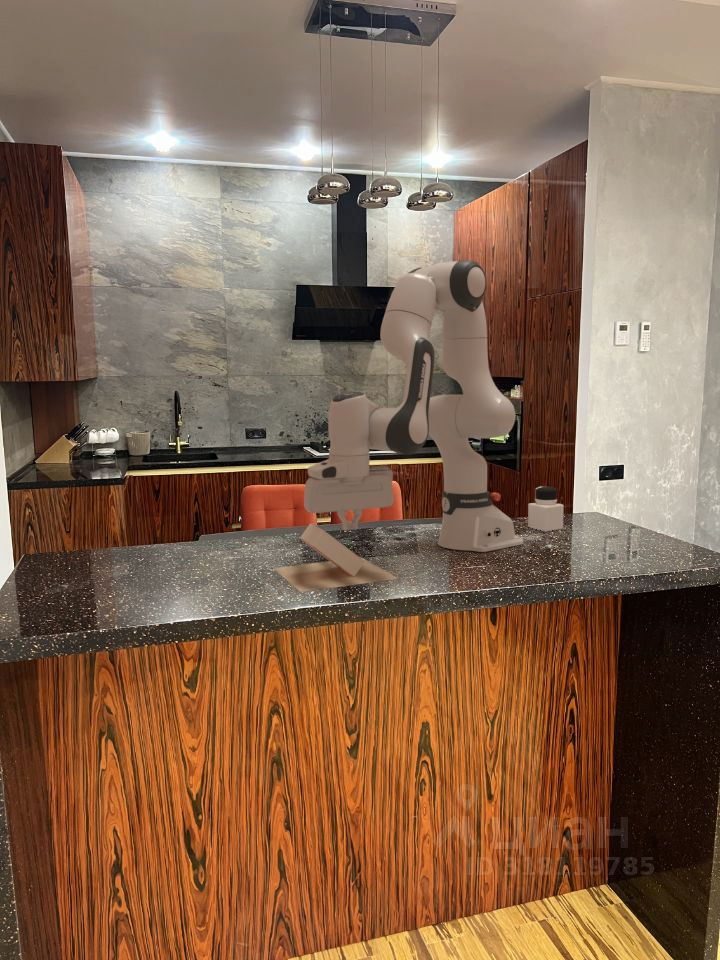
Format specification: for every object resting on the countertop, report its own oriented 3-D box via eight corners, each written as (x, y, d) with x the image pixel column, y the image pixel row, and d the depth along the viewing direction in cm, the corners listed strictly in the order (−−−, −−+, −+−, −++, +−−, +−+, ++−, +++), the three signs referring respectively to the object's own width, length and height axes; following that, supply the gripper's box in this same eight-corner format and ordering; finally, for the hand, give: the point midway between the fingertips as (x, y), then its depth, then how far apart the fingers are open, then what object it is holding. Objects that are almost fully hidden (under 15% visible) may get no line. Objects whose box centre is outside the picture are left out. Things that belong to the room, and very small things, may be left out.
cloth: (362, 561, 169) (362, 557, 168) (398, 583, 150) (398, 578, 150) (273, 572, 160) (273, 568, 160) (300, 596, 142) (300, 591, 142)
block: (349, 552, 161) (310, 523, 156) (364, 561, 153) (324, 530, 148) (338, 567, 160) (299, 538, 156) (353, 577, 152) (312, 547, 147)
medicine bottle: (563, 529, 201) (564, 487, 199) (545, 532, 198) (546, 489, 196) (545, 524, 207) (546, 484, 205) (527, 527, 204) (528, 486, 202)
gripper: (386, 463, 160) (386, 523, 162) (300, 468, 152) (302, 531, 154) (398, 466, 154) (398, 528, 156) (310, 471, 146) (311, 536, 148)
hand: (350, 529), depth 155 cm, fingers closed
